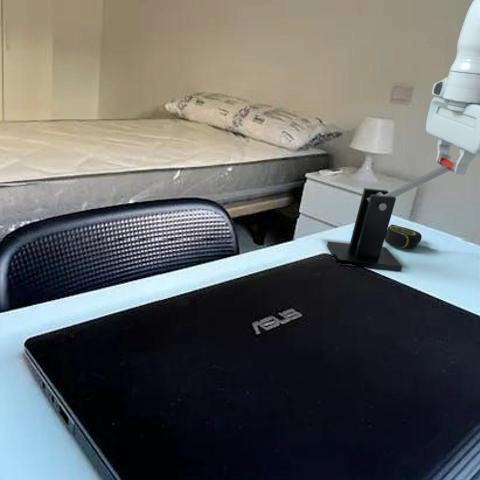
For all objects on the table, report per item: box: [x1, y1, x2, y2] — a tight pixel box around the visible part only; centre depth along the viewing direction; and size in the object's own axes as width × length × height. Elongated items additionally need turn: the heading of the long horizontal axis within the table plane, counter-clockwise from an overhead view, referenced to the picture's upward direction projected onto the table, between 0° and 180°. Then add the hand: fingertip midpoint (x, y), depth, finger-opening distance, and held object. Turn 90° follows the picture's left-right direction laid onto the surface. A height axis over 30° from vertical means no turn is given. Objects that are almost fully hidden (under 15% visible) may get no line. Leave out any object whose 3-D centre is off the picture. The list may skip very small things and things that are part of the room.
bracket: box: [326, 187, 403, 273], centre depth 97 cm, size 12×9×14 cm
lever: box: [366, 159, 454, 203], centre depth 94 cm, size 16×5×2 cm
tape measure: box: [384, 223, 423, 250], centre depth 107 cm, size 7×7×4 cm
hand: (449, 168), depth 92 cm, fingers closed on lever, 5 cm apart
